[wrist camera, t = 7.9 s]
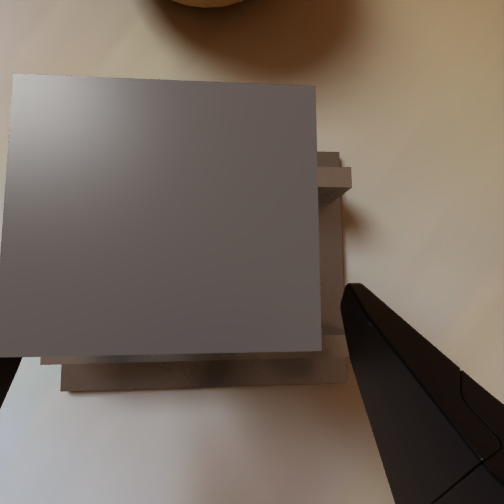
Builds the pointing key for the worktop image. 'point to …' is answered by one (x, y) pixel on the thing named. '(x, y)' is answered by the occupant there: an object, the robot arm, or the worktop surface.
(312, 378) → the bracket
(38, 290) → the gray rectangular block
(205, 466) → the worktop surface
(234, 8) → the worktop surface
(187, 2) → the pot
